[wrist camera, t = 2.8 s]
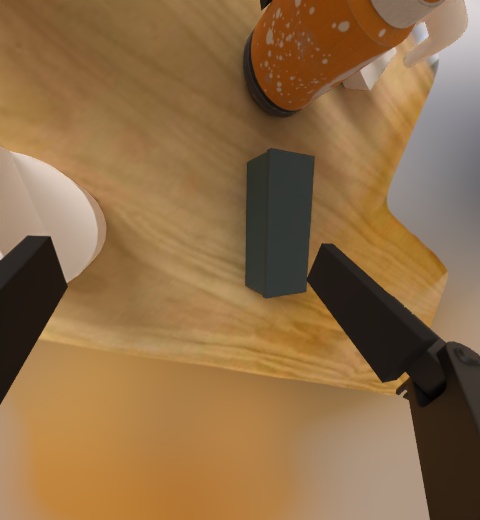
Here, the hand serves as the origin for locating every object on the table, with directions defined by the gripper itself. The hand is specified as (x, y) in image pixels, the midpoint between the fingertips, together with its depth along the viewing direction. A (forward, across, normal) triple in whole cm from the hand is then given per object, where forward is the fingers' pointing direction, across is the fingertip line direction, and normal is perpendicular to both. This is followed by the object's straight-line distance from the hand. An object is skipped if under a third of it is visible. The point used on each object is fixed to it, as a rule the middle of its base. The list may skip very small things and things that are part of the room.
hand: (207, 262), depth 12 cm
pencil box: (+15, +10, -5) cm, 18 cm away
